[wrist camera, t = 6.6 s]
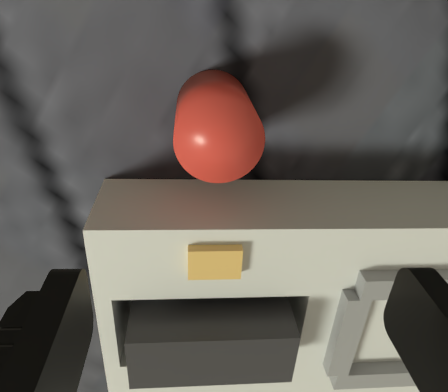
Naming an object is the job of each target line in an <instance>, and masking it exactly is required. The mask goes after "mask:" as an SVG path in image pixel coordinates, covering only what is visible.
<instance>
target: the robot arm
mask: <svg viewBox="0 0 448 392" xmlns="http://www.w3.org/2000/svg"><path fill="white" fill-rule="evenodd" d="M383 320H384V326H385V330H386V332H387V334H388V336H389V338H390V340H391V342H392V344H393V345H394V347H395V349H396V351H397V353H398V354H399V356H400V358H401V360H402V361H403V363H404V365H405V367H406V369H407V370H408V372H409V374H410V376H411V378H412V379H413V381H414V383H415V385H416V387H417V388H418V390H419V392H448V283H447V282H446V281H445V280H444V279H443V277H442V276H441V275H440V274H439V273H438V272H437V271H436V270H435V269H434V268H430V267H418V268H401V269H400V270H399V271H398V272H397V274H396V277H395V280H394V283H393V286H392V289H391V292H390V294H389V297H388V300H387V303H386V306H385V309H384V314H383ZM92 331H93V311H92V304H91V298H90V291H89V285H88V278H87V273H86V271H85V269H52V270H51V271H50V272H49V273H48V275H47V277H46V279H45V281H44V284H43V286H42V288H41V290H40V291H26V292H25V293H24V294H23V295H22V296H21V297H20V298H18V299H17V300H16V301H15V302H14V303H13V304H12V305H11V306H9V307H8V309H7V310H6V312H5V314H4V316H3V317H2V319H1V321H0V392H77V388H78V385H79V381H80V377H81V374H82V370H83V367H84V363H85V360H86V356H87V352H88V349H89V345H90V342H91V337H92Z"/></svg>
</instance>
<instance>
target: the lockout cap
mask: <svg viewBox="0 0 448 392" xmlns="http://www.w3.org/2000/svg"><path fill="white" fill-rule="evenodd" d="M173 145H174V151H175V154H176V157H177V159H178V161H179V163H180V164H181V166H182V167H183V168H184V169H185V170H186V171H187V172H188V173H189V174H191V175H192V176H194V177H195V178H197V179H199V180H202V181H205V182H209V183H227V182H231V181H234V180H237V179H239V178H241V177H243V176H245V175H246V174H247V173H249V172H250V171H251V170H252V169H253V168H254V167H255V165H256V164H257V163H258V161H259V160H260V158H261V156H262V153H263V150H264V145H265V132H264V128H263V125H262V122H261V120H260V118H259V116H258V114H257V112H256V110H255V108H254V106H253V104H252V103H251V101H250V99H249V97H248V95H247V93H246V91H245V89H244V87H243V85H242V84H241V83H240V82H239V81H238V80H237V79H236V78H235V77H234V76H233V75H231V74H229V73H227V72H224V71H220V70H205V71H202V72H199V73H197V74H195V75H193V76H192V77H190V78H189V79H188V80H187V81H186V82H185V83H184V85H183V86H182V88H181V90H180V92H179V95H178V98H177V106H176V116H175V126H174V136H173Z"/></svg>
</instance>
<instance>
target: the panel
mask: <svg viewBox="0 0 448 392" xmlns="http://www.w3.org/2000/svg"><path fill="white" fill-rule="evenodd" d="M83 236H84V242H85V249H86V255H87V261H88V267H89V273H90V280H91V286H92V292H93V298H94V305H95V311H96V317H97V323H98V329H99V336H100V342H101V348H102V354H103V361H104V367H105V373H106V379H107V385H108V392H419V390H418V388H417V387H416V385H415V383H414V381H413V379H412V378H411V376H410V374H409V372H408V370H407V369H406V367H405V365H404V363H403V361H402V360H401V358H400V356H399V354H398V353H397V351H396V349H395V347H394V345H393V344H392V342H391V340H390V338H389V336H388V334H387V332H386V330H385V326H384V320H383V314H384V309H385V306H386V303H387V300H388V297H389V294H390V292H391V289H392V286H393V283H394V280H395V277H396V274H397V272H398V271H399V270H400V269H401V268H418V267H430V268H434V269H435V270H436V271H437V272H438V273H439V274H440V275H441V276H442V277H443V279H444V280H445V281H446V282H447V283H448V181H365V180H234V181H231V182H227V183H209V182H205V181H202V180H199V179H104V181H103V184H102V186H101V188H100V191H99V193H98V195H97V198H96V200H95V202H94V205H93V207H92V210H91V212H90V214H89V217H88V219H87V221H86V224H85V226H84V228H83ZM244 297H288V299H289V302H290V305H291V308H292V311H293V315H294V318H295V321H296V324H297V328H298V331H299V334H300V337H301V340H300V344H299V349H298V354H297V359H296V363H295V368H294V373H293V378H292V382H282V383H259V384H236V385H213V386H190V387H167V388H144V389H129V381H128V373H127V364H126V356H125V347H124V342H125V336H126V331H127V325H128V319H129V314H130V308H131V303H132V300H155V299H199V298H244Z"/></svg>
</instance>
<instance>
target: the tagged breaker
mask: <svg viewBox="0 0 448 392" xmlns="http://www.w3.org/2000/svg"><path fill="white" fill-rule="evenodd" d="M300 340H301V337H300V334H299V331H298V328H297V324H296V321H295V318H294V315H293V311H292V308H291V305H290V302H289V299H288V297H244V298H199V299H155V300H132V303H131V308H130V314H129V319H128V325H127V331H126V336H125V342H124V347H125V356H126V364H127V373H128V381H129V389H144V388H167V387H190V386H213V385H236V384H259V383H282V382H292V378H293V373H294V368H295V363H296V359H297V354H298V349H299V344H300Z"/></svg>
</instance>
